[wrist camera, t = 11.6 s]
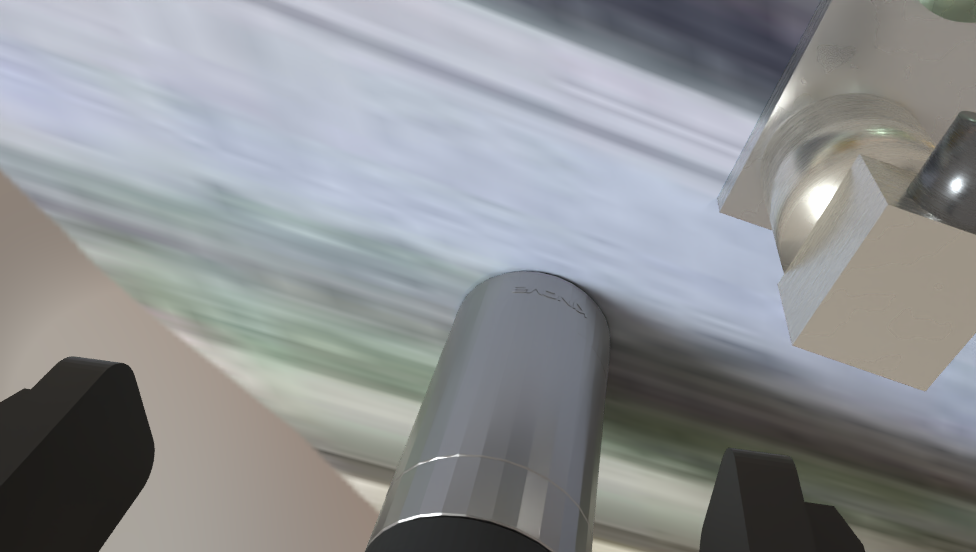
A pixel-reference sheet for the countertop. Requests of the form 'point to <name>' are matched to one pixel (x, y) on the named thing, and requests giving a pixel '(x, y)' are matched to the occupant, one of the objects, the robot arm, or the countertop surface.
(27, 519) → the robot arm
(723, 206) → the base
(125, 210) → the countertop surface
